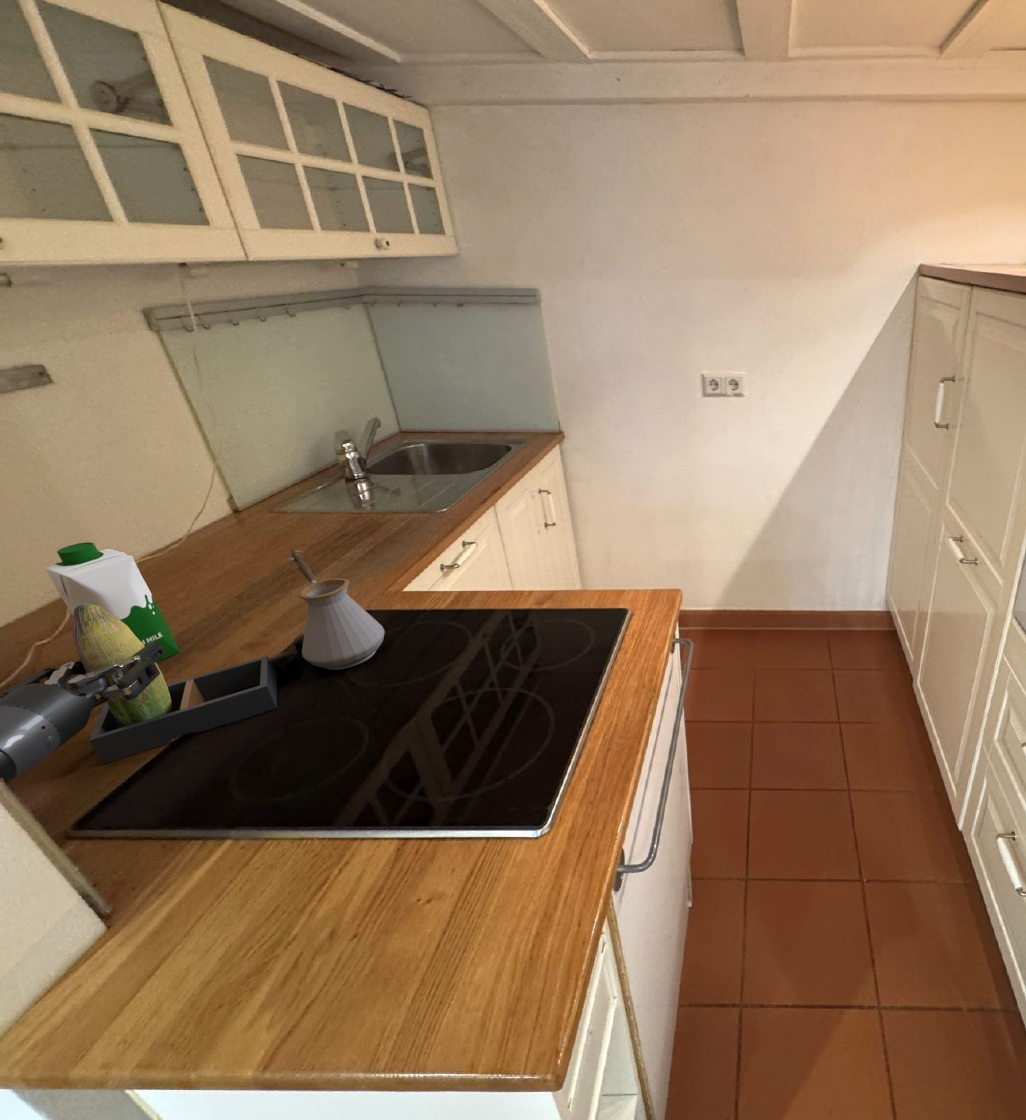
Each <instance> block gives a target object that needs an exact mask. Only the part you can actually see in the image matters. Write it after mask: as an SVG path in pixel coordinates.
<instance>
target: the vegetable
mask: <svg viewBox="0 0 1026 1120" xmlns="http://www.w3.org/2000/svg"><path fill="white" fill-rule="evenodd" d="M73 616H74V617H73ZM72 617H73V626H72V641H73V646H74V648H75V651H76V653H77V655H78V657H79V659H81V661H82V663H83V666H84V668H85V670H86V672H87V674H88V673H90V672H92V671H95V670H97V669H99V668H101V667H103V666H105V665H107V664H115V665H116V664H118V663H120V662H122V661H125V660H127V659H129V658H131V657H132V656H133V655H134V654H136V653H137V652H138V651H140V650H141V649H142V648H144V647H145V646H144V645H143V643H142V642H141V641H140V640H139V639H138V638H137V637H136V636H135V635H134V633H133V632H132V631H131V630H130V628H129V627H128V626H127V625H126V624H125V623H123V622H122V621H121V620H120V619H118V618H116V617H115V616H113V615H111V614H110V613H108V612H107V611H105V610H104V609H103V608H102V607H100V606H99V605H97V604H95V603H82V604H80V605H78V606H77V607H76V608H75V610H74V613H73V615H72ZM155 664H156V666H157V668H158V670H159V672H160V674H159V675H158V676H157V677H156V678H155V679H154V680H153V681H152V682H151V683H150V684H149V685H148V686H147V687H146V688H145V689H144V690H143V691H142V692H141V693H140V694H139V695H138V696H137V697H136V698H134V699H131V700H125V698H124V697H123V695H120V696H114V697H110V699H109V700H107V701H106V704H107V705H108V707H109V708H110V710H111V711H112V713H113V714H114V715H115V716H116V718H117V719H118V720H119V721H120V722H121V723H122V724H123V725H124V727H126V726H129V725H132V724H136V723H139V722H142V721H146V720H149V719H152V718H155V717H159V716H162V715H165V714H168V713H172V711H171V709H172V702H171V698H170V693H169V690H168V687H167V682H166V680H165V678H164V677H165V676H164V675H163V672H162V671H161V669H160V667H159V665H158V663H157V662H155ZM131 668H132V667H131V666H129V667H127V668H125V669H124V670H123V673H124V674H126V673H127V672H128V671H129V670H130V669H131ZM105 676H106V677H107V678H108V680H109V682H110V683H111V686H113V685H114V684H115V681H114V680H113V678H112V676H111V675H110V673H107V674H105Z"/></svg>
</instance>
